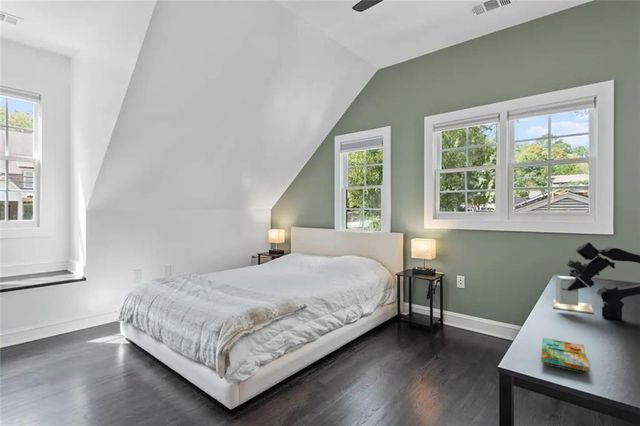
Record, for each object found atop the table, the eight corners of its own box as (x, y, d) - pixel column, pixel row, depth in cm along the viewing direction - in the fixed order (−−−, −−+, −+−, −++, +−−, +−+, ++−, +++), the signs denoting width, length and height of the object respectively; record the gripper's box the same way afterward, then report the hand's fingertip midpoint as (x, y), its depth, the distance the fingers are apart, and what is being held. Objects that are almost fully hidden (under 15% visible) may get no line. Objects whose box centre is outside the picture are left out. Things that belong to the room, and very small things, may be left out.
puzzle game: (583, 342, 114) (589, 364, 97) (583, 356, 114) (589, 380, 97) (542, 335, 120) (541, 354, 104) (542, 347, 120) (541, 369, 104)
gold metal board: (590, 305, 173) (590, 303, 173) (593, 314, 158) (593, 312, 158) (553, 300, 182) (553, 299, 182) (552, 308, 168) (552, 306, 168)
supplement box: (560, 304, 157) (560, 278, 157) (555, 300, 164) (555, 275, 164) (578, 306, 155) (578, 279, 155) (573, 302, 162) (573, 276, 162)
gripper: (574, 252, 166) (548, 272, 171) (585, 257, 149) (555, 279, 154) (594, 269, 162) (566, 289, 167) (607, 275, 145) (576, 298, 150)
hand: (565, 288), depth 160 cm, fingers closed on supplement box, 7 cm apart
